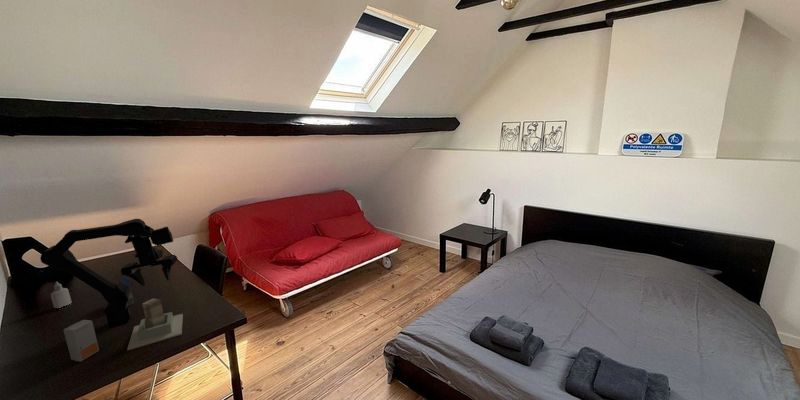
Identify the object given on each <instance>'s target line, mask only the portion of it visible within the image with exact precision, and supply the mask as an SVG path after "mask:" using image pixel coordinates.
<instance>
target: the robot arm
mask: <svg viewBox="0 0 800 400" xmlns="http://www.w3.org/2000/svg"><path fill="white" fill-rule="evenodd" d="M114 236H116V237H117V236H121V237H127V238H126V239H125V241H124V244H128V243H132V244H131V245H132V247H133V249H134V252H135V254H134V257H135V258H136V259H138V262H139V263H138V262H137V261H136V262H129V263H126V264H125V265H124V266H123V267H121V268H120V271H119V272H120V274H121V276H125V275H126V276H127V277H128V278H130V279H133V281H136V282H137V283H138V284H140V285H141V286H142V287H145V286H146V282H145V280H144V277H143V275H142V269H145V268H149V267H151V268H152V267H154V266H160V265H161V270H162V272H163V275H164V277H165V279H166V280H167V281H170V278H171V270H172V269H171V268H172V266H173V265H175V264H176V262H178V257H177V255H176V254H169V255H165V256H164V254H163V250H162V249H156V248H155V247H153V245H154V246H157V247H158V246H162V245H165V244H169V243H173V242H174V237H173V234H172V231H171V230H170V228H169V226H164V227H161V228H157V229H154V228H153V227H151V226H149V225H147V224H146V222H145V221H144V220H142V219H141V218H133V219H130V220H126V221H125V220H124V221H123V222H121V223H117V224H111V225H104V226H96V227H89V228H88V227H87V228H83V229H71V230H69V231H68V232H67V233H65V235H63V237H62V238H61V239H60V240H59V241H58V242H57V243H56V244H55V245H52V246H50V247H48V248H47V249H46V250H45V251H43V252H42V253H41V255H40V262H41V263H42V264H43V265H45V266H48V267H50V268H53V269H56V270H62V271H65V272H67V273H68V274H70V275H72V276H73V277H74V278H76V279H78V280H79V281H81V282H82V283H85V285H88V286H89V287H91V288H92V289H93V290H95V291H97V292H99V293H100V294H101V295H102V297H103V299H104V300H105V301H106V302H107V303H106V304H105V306H104V308H103V310H102V311H103V313H104V314H105V316H106V320H107V328H109V329H110V328H112V327H116V326H120V325H121V326H122V325H123V324H128V323H129V321H130V320H131V317H132V314H131V309H130V306H127V304H126V303H127V301H128V299H129V296H130V290H129V289H128V288H129V286H125V285H124V284H123V283H122V282H121V281H118V283H114V282H110V281H109V280H108V279H107V278H104V277H103V276H102V275H100V274H99V273H97V272H96V271H94V270H93V269H92V268H89V267H88V266H86V265H85V264H84V263H82V262H80V261H78V260H77V258H76V256H75V255H74V253H73V252H72V251H71V250H70V249H71V247H72V246H73V245H74V244H75V243H76V242H80V241H82V242H83V241H88V240H95V239H102V238H109V237H114ZM160 258H162V259H160Z"/></svg>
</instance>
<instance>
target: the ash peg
mask: <svg viewBox="0 0 800 400" xmlns="http://www.w3.org/2000/svg"><path fill="white" fill-rule="evenodd" d="M142 308H143V313H144V319H146V322H147V327H148V328H151V327H155V326H159V325H162V324H165V319H164V314H165V313H164V312H163V311H164V310H163V305H162V301H161V299H157V298H155V297H154V298H151V299H149V300H147V301H145V302H143V303H142Z"/></svg>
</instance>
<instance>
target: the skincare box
mask: <svg viewBox="0 0 800 400" xmlns="http://www.w3.org/2000/svg"><path fill="white" fill-rule="evenodd" d="M63 333H64V338H65V341H66V345H67V348H68V352H69V356H70V361H73V360H74V362H83V361H84V360H86V359H88V358H89V357H91V356H93V355H94V354H95V353H97V352H99V351H100V348H99V343H98V340H97V334H96V331H95V327H94V322H93V320H88V319H82V320H80V321H77V322H75V323H72V324H71V325H69V326H68V327H66V328H63Z"/></svg>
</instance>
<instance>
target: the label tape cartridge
mask: <svg viewBox="0 0 800 400" xmlns="http://www.w3.org/2000/svg"><path fill="white" fill-rule="evenodd" d="M120 282H122V283H123V284H124V285H125V286H129V288H128V289H129V290H130V296H129V299H128V301H127V303H126V304H127V307H130V306H133V305H134V304H135V301H134V297H133V292H132V289H131V283H130V277H129V276H126V275H124V279H123V280H121V281H120Z"/></svg>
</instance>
